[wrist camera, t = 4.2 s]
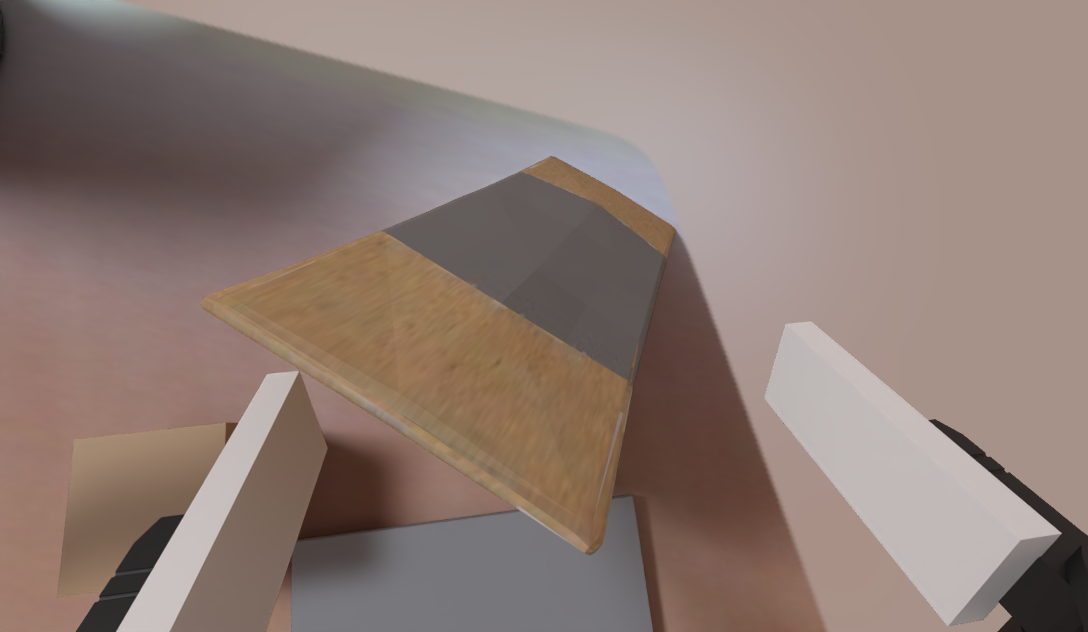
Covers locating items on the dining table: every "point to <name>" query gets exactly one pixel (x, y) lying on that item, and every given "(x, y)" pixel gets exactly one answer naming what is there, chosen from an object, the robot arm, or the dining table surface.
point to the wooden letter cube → (129, 495)
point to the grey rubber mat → (471, 578)
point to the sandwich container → (485, 334)
